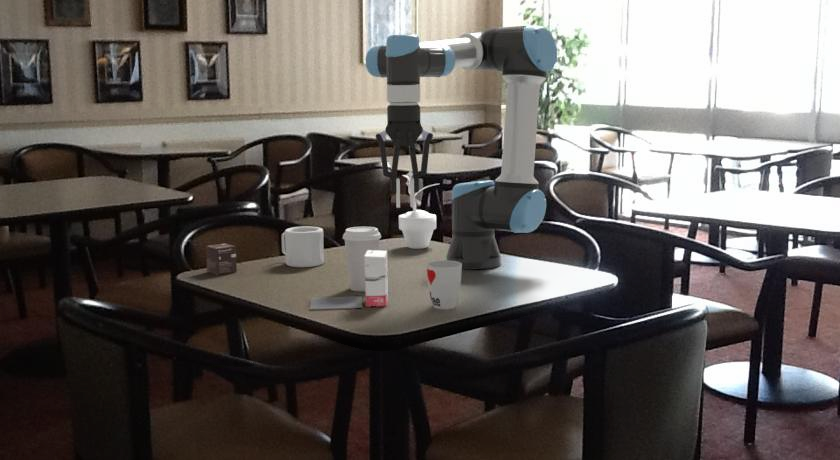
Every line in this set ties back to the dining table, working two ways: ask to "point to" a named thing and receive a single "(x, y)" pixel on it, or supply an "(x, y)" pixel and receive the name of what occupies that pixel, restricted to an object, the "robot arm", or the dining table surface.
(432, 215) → the potted plant
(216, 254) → the box
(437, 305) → the cup
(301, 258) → the mug
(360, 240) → the coffee cup
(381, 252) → the ink box
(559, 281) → the dining table surface
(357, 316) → the dining table surface
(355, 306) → the mat
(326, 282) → the dining table surface
